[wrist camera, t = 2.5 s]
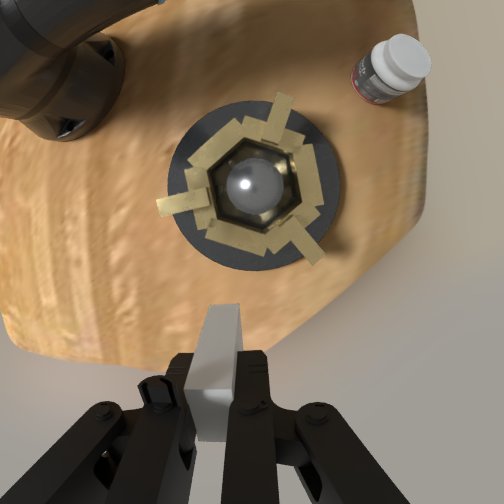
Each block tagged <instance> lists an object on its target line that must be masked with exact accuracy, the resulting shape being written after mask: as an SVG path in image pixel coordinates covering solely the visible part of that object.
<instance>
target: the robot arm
mask: <svg viewBox="0 0 504 504" xmlns="http://www.w3.org/2000/svg"><path fill="white" fill-rule="evenodd" d="M165 1H166V0H0V117H2V118H9V119H15V120H19V121H20V122H21V123H23V124H24V125H25V126H26V127H28V128H29V129H30V130H31V131H32V132H34V133H35V134H36V135H38V136H39V137H41V138H43V139H46V140H52V141H59V142H65V141H70V140H74V139H76V138H79V137H81V136H83V135H84V134H86V133H87V132H89V131H90V130H92V129H93V128H94V127H95V126H96V125H97V124H98V123H99V122H100V121H101V120H102V119H103V118H104V117H105V115H106V114H107V113H108V111H109V110H110V109H111V107H112V106H113V104H114V102H115V100H116V98H117V96H118V94H119V92H120V89H121V86H122V83H123V79H124V72H125V63H124V57H123V54H122V51H121V49H120V48H119V46H118V45H117V44H116V43H115V42H114V41H113V40H112V39H111V38H109V37H108V36H107V35H105V34H103V33H101V32H100V31H102V30H103V29H105V28H107V27H109V26H111V25H113V24H115V23H116V22H118V21H120V20H122V19H124V18H126V17H128V16H130V15H133V14H135V13H137V12H139V11H141V10H143V9H146V8H148V7H150V6H153V5H155V4H158V5H160V4H163V3H164V2H165ZM138 389H139V391H140V394H141V397H142V399H143V402H144V406H143V408H139V409H134V410H125V411H122V409H121V408H120V406H119V405H118V404H116V403H115V402H110V401H105V402H99V403H97V404H95V405H93V406H92V407H91V408H90V409H89V410H88V411H87V412H86V413H85V414H84V415H83V416H82V417H81V418H80V419H79V420H78V421H77V422H76V423H75V424H74V425H73V426H72V427H71V428H70V429H69V430H68V431H67V432H66V433H65V434H64V435H63V436H62V437H61V438H60V439H59V440H58V441H57V442H56V443H55V444H54V445H53V446H52V447H51V448H50V449H49V450H48V451H47V452H46V453H45V454H44V455H43V456H42V457H41V458H40V459H39V460H38V461H37V462H36V463H35V464H34V465H33V466H32V467H31V468H30V469H29V470H28V471H27V472H26V473H25V474H24V475H23V476H22V477H21V478H20V479H19V480H18V481H17V482H16V483H15V484H14V485H13V486H12V487H11V488H10V489H9V490H8V491H7V492H6V493H5V494H4V495H3V496H2V497H1V498H0V504H188V501H189V495H190V489H191V483H192V477H193V471H194V465H195V459H196V454H197V450H196V446H195V443H194V442H195V436H196V434H197V437H198V441H206V442H226V449H225V460H224V471H223V483H222V494H221V504H279V491H278V479H277V478H278V477H277V466H276V463H277V464H283V465H289V466H294V468H295V471H296V473H297V475H298V476H299V479H300V481H301V483H302V485H303V487H304V489H305V491H306V493H307V495H308V497H309V499H310V501H311V502H312V504H410V503H409V502H408V500H407V499H406V498H405V497H404V495H403V494H402V493H401V492H400V490H399V489H398V488H397V487H396V486H395V484H394V483H393V482H392V480H391V479H390V478H389V477H388V475H387V474H386V473H385V472H384V470H383V469H382V468H381V466H380V465H379V464H378V463H377V461H376V460H375V459H374V457H373V456H372V455H371V454H370V452H369V451H368V450H367V448H366V447H365V446H364V445H363V443H362V442H361V441H360V439H359V438H358V437H357V435H356V434H355V433H354V432H353V430H352V429H351V427H350V426H349V425H348V423H347V422H346V421H345V420H344V418H343V417H342V416H341V414H340V413H339V412H338V410H337V409H336V408H334V407H333V406H332V405H330V404H327V403H322V402H314V403H308V404H306V405H304V406H302V407H301V408H300V409H299V410H298V411H294V410H287V409H283V408H281V407H279V406H277V405H276V404H275V403H274V402H273V401H272V400H271V396H270V387H269V374H268V363H267V356H266V355H265V354H264V352H263V351H262V350H251V351H243V339H242V329H241V318H240V307H239V304H223V305H210V306H209V309H208V312H207V315H206V318H205V321H204V325H203V328H202V331H201V334H200V337H199V340H198V343H197V347H196V350H195V353H178V354H177V355H176V356H175V357H174V358H173V359H172V360H171V362H170V364H169V367H168V369H167V372H166V375H165V376H163V375H158V376H152V377H148V378H146V379H144V380H143V381H141V382H140V383H139V385H138ZM105 451H106V453H105V454H103V453H104V452H105Z"/></svg>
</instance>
